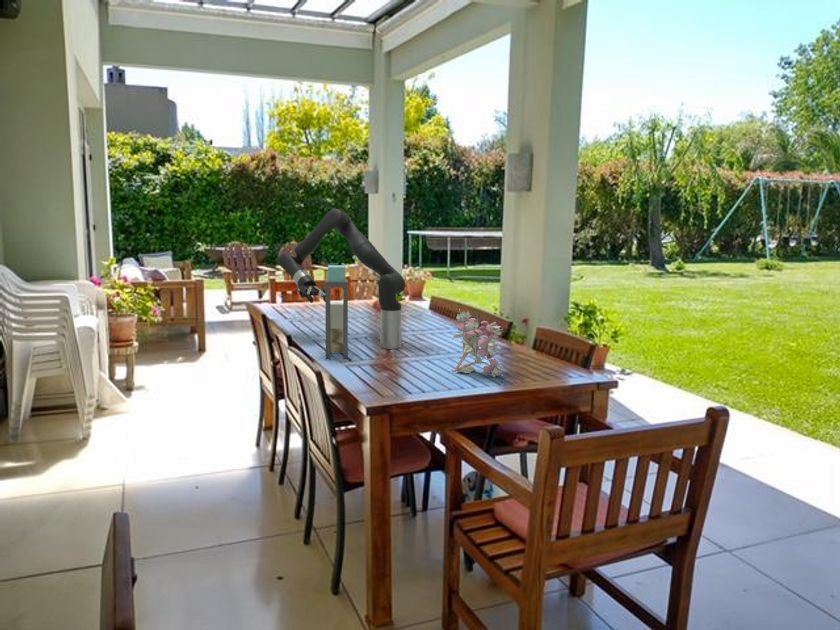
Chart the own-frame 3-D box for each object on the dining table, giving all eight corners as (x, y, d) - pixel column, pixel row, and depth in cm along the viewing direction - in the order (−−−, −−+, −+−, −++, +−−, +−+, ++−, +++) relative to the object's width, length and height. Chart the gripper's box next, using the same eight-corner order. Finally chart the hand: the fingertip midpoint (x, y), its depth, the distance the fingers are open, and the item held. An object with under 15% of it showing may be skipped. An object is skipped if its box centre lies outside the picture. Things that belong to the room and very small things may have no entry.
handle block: (345, 277, 285) (345, 263, 284) (345, 282, 265) (345, 267, 264) (328, 276, 284) (328, 263, 283) (327, 282, 264) (327, 267, 263)
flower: (455, 380, 232) (487, 318, 230) (429, 360, 252) (459, 303, 250) (497, 398, 241) (528, 338, 240) (469, 378, 261) (497, 322, 260)
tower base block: (346, 346, 294) (346, 323, 293) (346, 352, 282) (346, 328, 281) (328, 346, 293) (328, 323, 292) (327, 352, 281) (327, 328, 280)
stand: (347, 353, 280) (347, 279, 275) (347, 359, 269) (347, 282, 264) (326, 353, 279) (326, 279, 274) (325, 359, 268) (325, 282, 263)
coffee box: (465, 348, 294) (466, 313, 292) (479, 349, 293) (480, 314, 290) (462, 353, 285) (463, 316, 283) (476, 353, 284) (477, 317, 281)
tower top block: (346, 323, 293) (346, 300, 291) (346, 328, 281) (346, 304, 279) (328, 323, 292) (328, 300, 290) (327, 328, 280) (327, 304, 278)
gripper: (293, 273, 293) (310, 294, 284) (320, 275, 303) (336, 295, 294) (288, 287, 297) (304, 308, 287) (314, 288, 306) (330, 308, 297)
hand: (320, 301), depth 290 cm, fingers open, 8 cm apart
